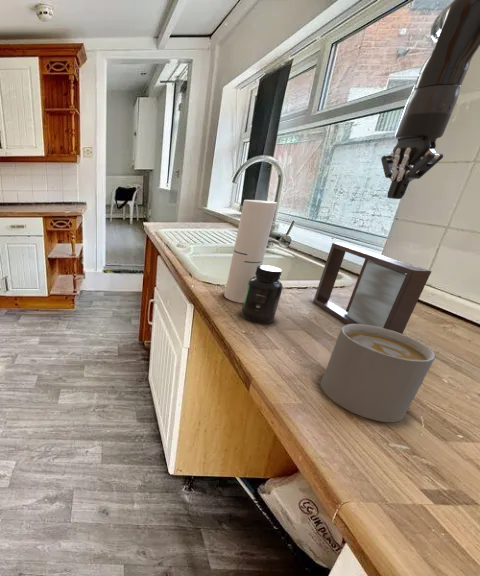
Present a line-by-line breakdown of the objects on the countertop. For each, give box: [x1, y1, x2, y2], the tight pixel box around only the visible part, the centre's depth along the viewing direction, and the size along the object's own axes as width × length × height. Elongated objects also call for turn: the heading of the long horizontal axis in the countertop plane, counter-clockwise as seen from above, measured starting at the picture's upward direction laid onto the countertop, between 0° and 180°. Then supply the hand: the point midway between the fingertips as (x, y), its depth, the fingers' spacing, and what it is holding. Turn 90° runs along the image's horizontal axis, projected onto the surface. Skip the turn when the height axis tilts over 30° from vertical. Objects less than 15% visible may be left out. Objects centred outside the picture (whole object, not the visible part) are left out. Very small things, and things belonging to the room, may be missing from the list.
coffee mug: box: [320, 324, 436, 423], centre depth 46 cm, size 13×10×10 cm
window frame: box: [313, 242, 432, 335], centre depth 68 cm, size 22×3×16 cm, turn 177°
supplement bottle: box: [241, 264, 284, 325], centre depth 69 cm, size 7×7×12 cm
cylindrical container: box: [223, 199, 278, 304], centre depth 77 cm, size 7×7×25 cm
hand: (393, 198), depth 71 cm, fingers closed
